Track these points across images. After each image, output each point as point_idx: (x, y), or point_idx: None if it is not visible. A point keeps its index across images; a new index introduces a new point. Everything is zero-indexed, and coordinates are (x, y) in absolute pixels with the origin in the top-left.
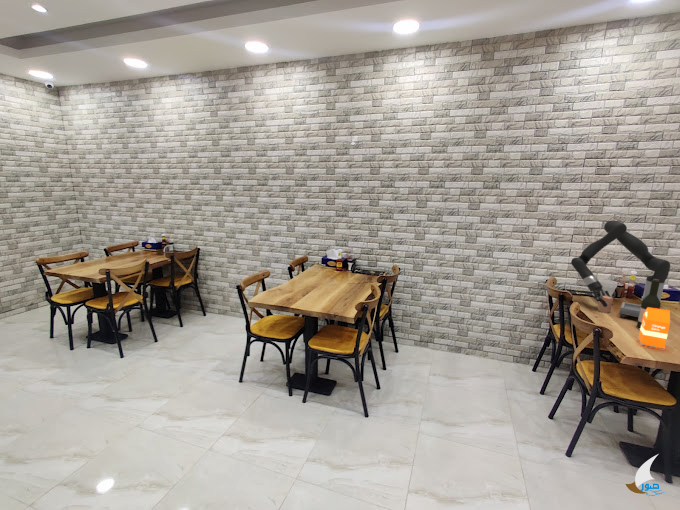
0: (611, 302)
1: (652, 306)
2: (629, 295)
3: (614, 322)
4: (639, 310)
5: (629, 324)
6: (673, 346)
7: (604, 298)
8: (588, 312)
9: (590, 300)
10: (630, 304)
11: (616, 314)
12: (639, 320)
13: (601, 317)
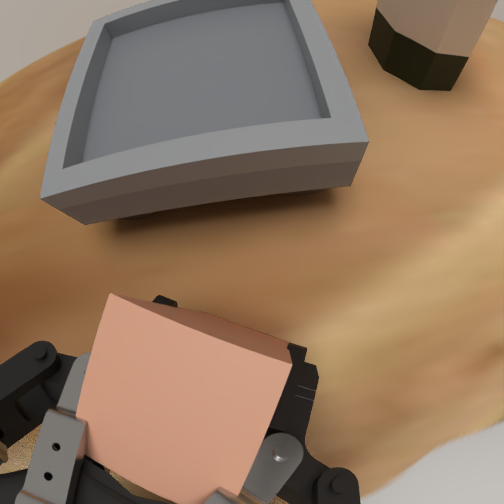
0: (178, 311)
1: None
2: None
3: (495, 209)
4: (195, 49)
5: (436, 123)
6: (496, 20)
7: (257, 445)
8: (413, 454)
9: (13, 471)
10: (75, 127)
11: (235, 249)
12: (473, 47)
13: (471, 321)
